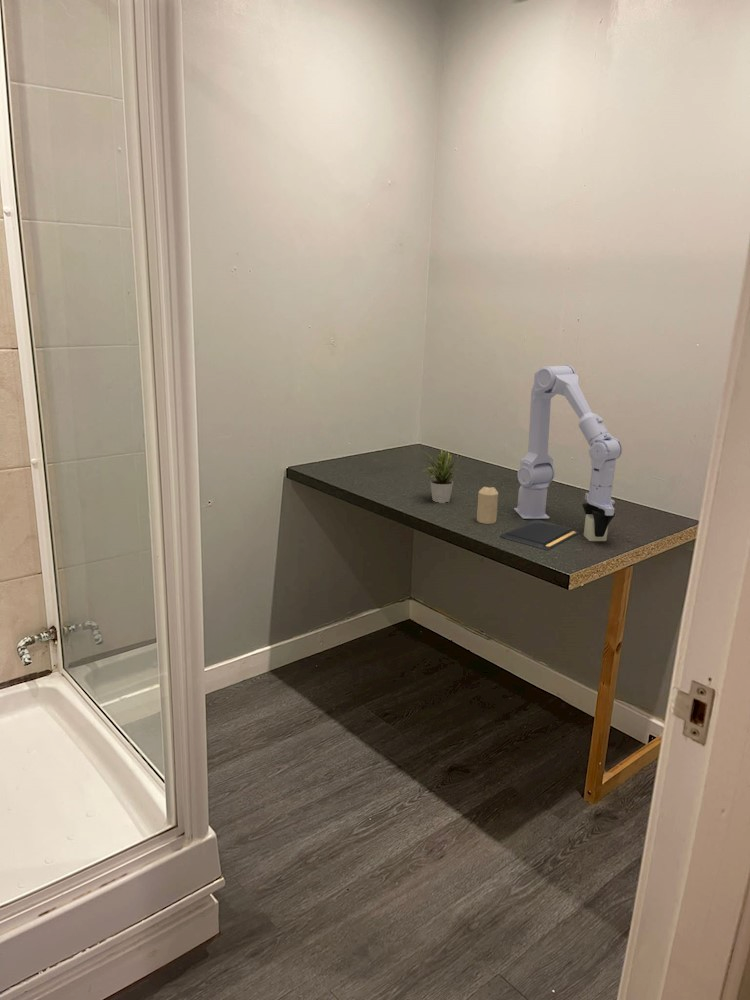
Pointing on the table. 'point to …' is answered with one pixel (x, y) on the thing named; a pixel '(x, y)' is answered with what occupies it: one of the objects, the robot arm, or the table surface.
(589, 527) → the block
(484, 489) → the candle
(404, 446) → the table surface
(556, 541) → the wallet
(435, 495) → the house plant
